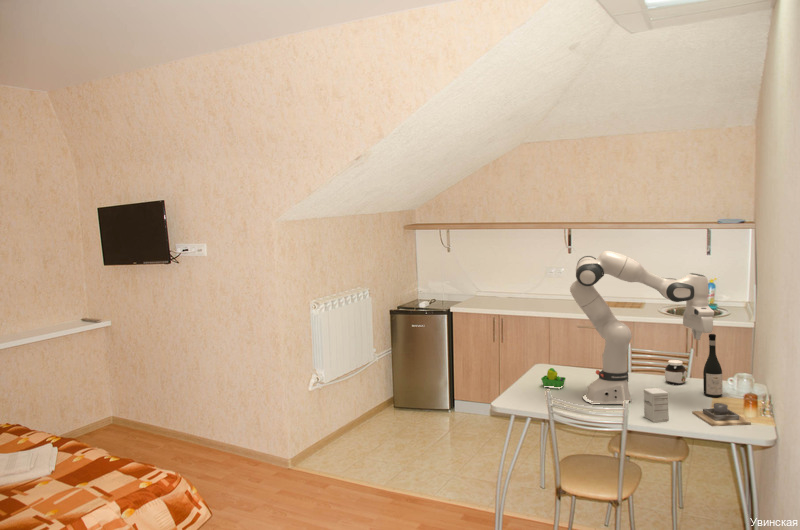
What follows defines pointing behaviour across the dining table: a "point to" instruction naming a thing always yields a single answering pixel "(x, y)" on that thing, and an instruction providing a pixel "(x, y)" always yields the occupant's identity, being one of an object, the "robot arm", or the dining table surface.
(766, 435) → the dining table surface
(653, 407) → the supplement box
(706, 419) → the holder board
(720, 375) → the wine bottle
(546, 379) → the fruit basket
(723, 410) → the dark grey cylinder
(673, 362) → the spread jar
